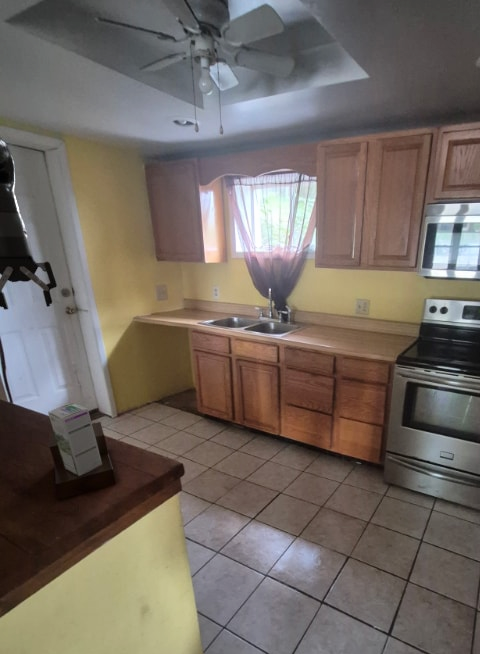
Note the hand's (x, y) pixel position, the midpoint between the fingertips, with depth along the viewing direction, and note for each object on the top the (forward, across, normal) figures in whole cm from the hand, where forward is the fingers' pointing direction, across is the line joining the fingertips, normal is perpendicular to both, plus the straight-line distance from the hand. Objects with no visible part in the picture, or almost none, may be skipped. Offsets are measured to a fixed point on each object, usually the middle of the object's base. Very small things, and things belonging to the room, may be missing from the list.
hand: (27, 307), depth 90 cm
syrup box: (+32, -4, +27) cm, 42 cm away
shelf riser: (+36, -4, +23) cm, 43 cm away
